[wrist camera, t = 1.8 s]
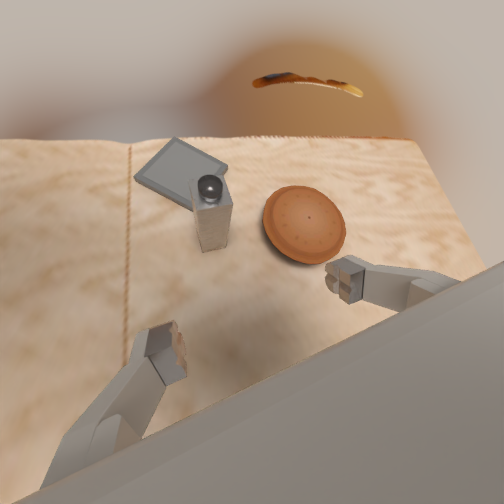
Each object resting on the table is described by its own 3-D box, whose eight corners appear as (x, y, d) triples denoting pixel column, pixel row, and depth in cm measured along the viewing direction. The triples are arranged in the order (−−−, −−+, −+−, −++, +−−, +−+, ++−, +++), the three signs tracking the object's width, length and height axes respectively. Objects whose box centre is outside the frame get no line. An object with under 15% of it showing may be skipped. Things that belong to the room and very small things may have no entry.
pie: (241, 233, 35) (246, 220, 30) (285, 184, 41) (295, 166, 36) (311, 286, 34) (326, 281, 29) (346, 227, 40) (363, 215, 35)
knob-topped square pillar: (202, 252, 32) (195, 203, 19) (196, 231, 33) (186, 171, 20) (225, 247, 33) (234, 197, 20) (219, 227, 34) (223, 167, 21)
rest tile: (135, 181, 34) (133, 176, 33) (175, 141, 39) (174, 136, 38) (195, 213, 34) (194, 209, 33) (227, 169, 39) (228, 164, 38)
